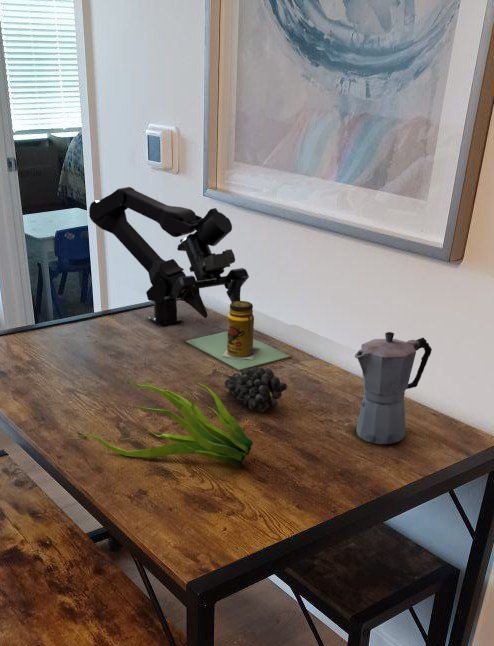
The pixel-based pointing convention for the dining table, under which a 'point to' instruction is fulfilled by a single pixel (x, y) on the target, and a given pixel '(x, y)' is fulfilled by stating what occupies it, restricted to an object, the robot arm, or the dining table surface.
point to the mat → (217, 348)
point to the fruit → (256, 388)
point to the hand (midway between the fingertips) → (222, 314)
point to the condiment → (240, 331)
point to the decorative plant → (195, 432)
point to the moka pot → (387, 386)
